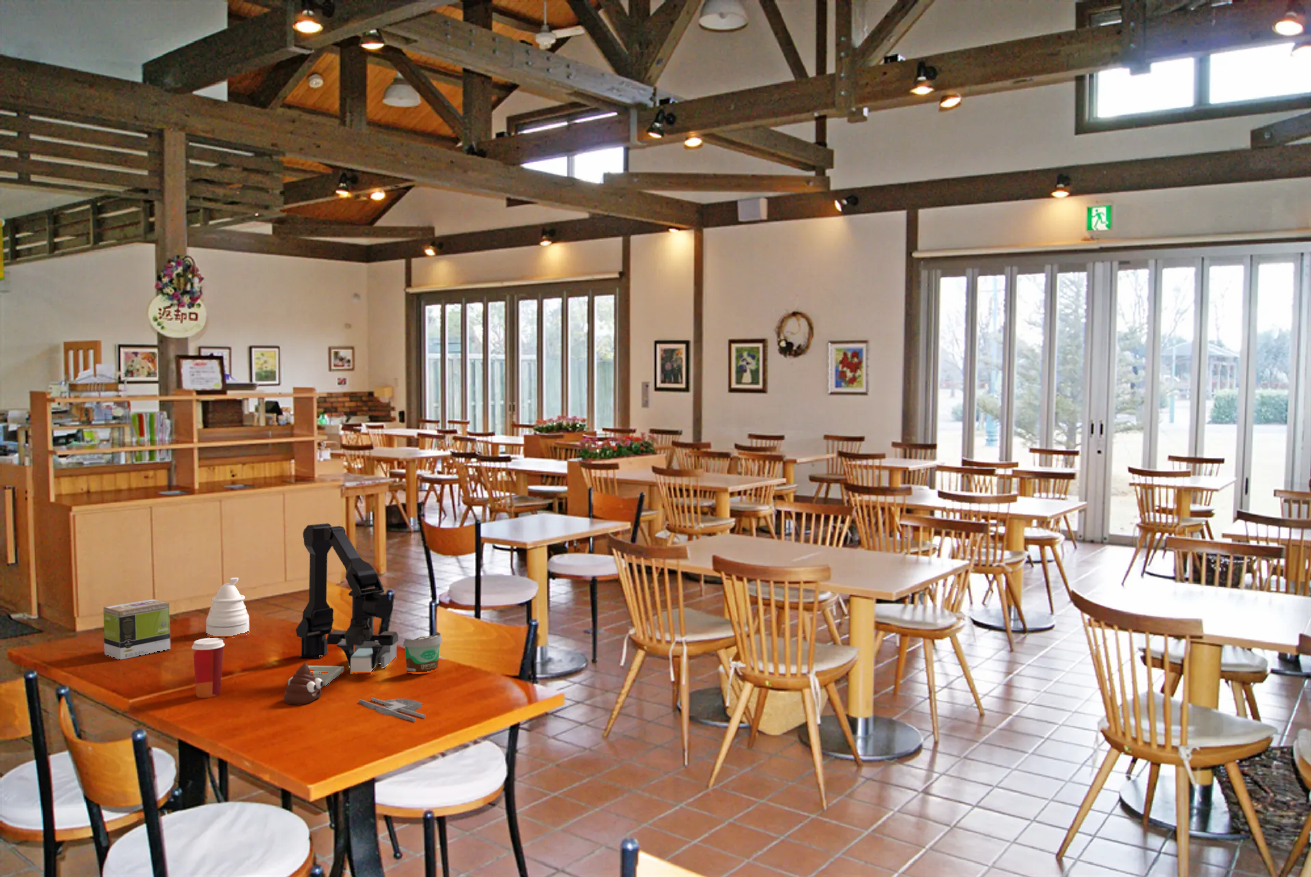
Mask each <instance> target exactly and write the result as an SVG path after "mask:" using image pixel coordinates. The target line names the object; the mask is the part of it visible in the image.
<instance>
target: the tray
mask: <svg viewBox="0 0 1311 877" xmlns="http://www.w3.org/2000/svg"><path fill="white" fill-rule="evenodd" d="M308 667H309V669H310V670H314V671H310V672H313V676H314V677H315V679H316V678H320V679H321V680H322V682H323V685H325V686H326V685H327V684H328V683H329V684H331V683H332V682H333V681H334V680H333V679H335V678H336V677H337V676H338V675H339V674H341V673H342V672H343V671H344V672H345V666H339V665H338V666H337V665H308ZM319 672H320V673H319ZM321 672H328V673H321ZM319 674H320V675H319ZM321 674H322V675H321ZM342 674H343V673H342ZM342 674H341V675H342ZM338 677H339V676H338ZM338 677H337V678H338ZM292 678H293V676H292V677H290V678H289V679H288V680H287V682H288V683H287V686H288V685H289V684H290V680H291V679H292ZM337 678H336V679H337ZM336 679H335V680H336ZM332 680H333V681H332ZM331 681H332V682H331ZM330 682H331V683H330ZM329 684H328V685H329ZM328 685H327V686H328ZM327 686H326V687H327Z"/></svg>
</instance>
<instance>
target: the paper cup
mask: <svg viewBox="0 0 1311 877" xmlns="http://www.w3.org/2000/svg"><path fill="white" fill-rule="evenodd" d="M224 646H225V642H224V640H223V638H210V637H207V638H206V637H205V638H200V639H198V640H197V639H196V640H195V641H193V644H192V646H191V649H192V651H193V666H194V668H193V670H194V684H195V695H196V697H197V698H199V699H208V698H209V699H210V698H215V697H217V696H219V695H220V694H221V685H222V674H223V658H224V657H223V655H224Z"/></svg>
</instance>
